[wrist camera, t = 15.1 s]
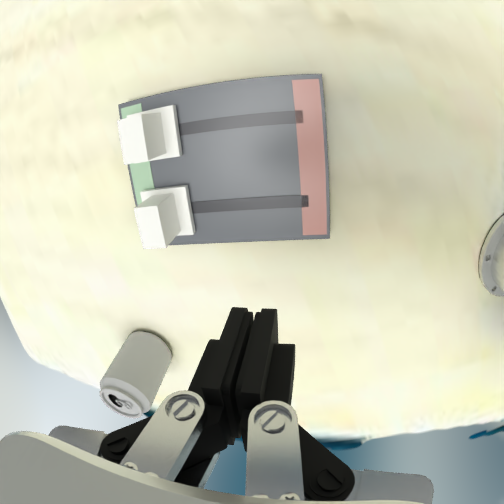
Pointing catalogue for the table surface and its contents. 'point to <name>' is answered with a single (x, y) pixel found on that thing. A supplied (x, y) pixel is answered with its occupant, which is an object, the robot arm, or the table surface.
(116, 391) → the can
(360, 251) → the table surface
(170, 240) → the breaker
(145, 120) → the breaker
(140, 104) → the slider switch panel
